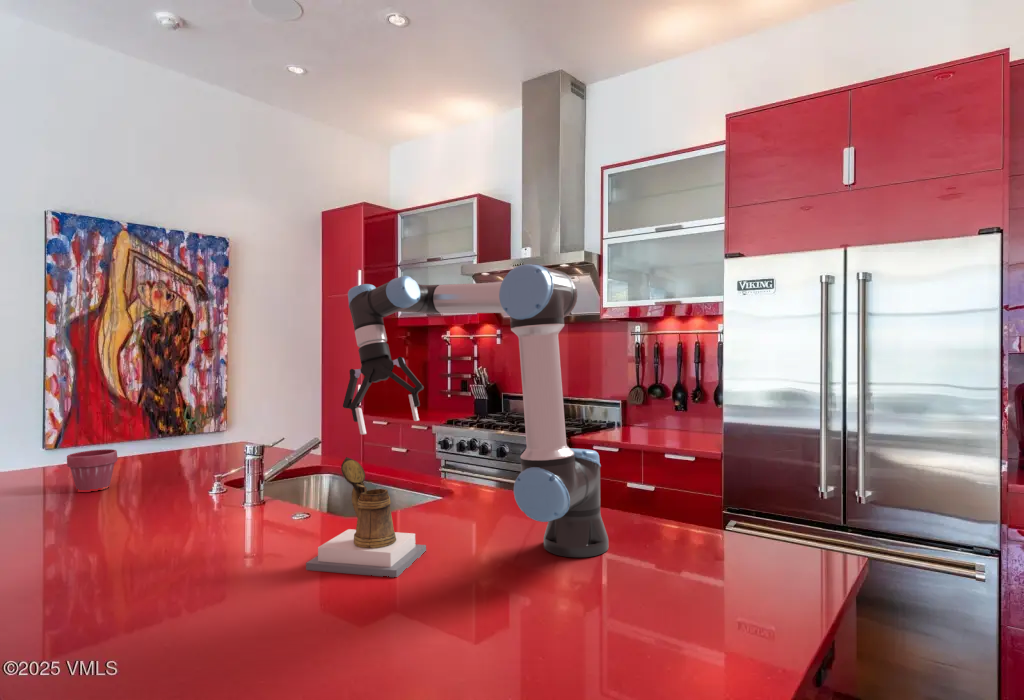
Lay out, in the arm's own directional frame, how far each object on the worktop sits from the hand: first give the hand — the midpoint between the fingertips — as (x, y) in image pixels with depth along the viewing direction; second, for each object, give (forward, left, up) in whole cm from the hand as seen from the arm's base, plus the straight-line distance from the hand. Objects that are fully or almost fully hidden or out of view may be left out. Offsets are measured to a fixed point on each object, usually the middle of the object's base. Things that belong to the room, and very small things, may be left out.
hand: (390, 427), depth 148 cm
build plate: (-1, +15, -28) cm, 31 cm away
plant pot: (+125, -28, -28) cm, 131 cm away
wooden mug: (-1, +15, -23) cm, 28 cm away
